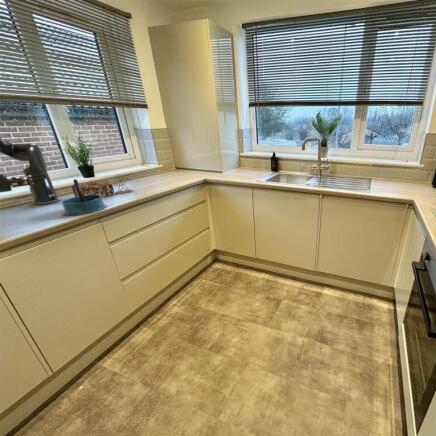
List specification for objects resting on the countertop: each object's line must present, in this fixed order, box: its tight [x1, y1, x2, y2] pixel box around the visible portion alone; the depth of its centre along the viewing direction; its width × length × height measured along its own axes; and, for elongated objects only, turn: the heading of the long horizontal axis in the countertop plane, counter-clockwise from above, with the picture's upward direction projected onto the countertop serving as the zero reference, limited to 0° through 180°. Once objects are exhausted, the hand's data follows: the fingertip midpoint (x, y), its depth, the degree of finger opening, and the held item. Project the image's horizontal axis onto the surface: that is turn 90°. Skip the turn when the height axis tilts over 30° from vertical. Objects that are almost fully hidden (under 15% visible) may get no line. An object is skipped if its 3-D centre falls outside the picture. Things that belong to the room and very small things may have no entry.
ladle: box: [73, 178, 85, 203], centre depth 124 cm, size 6×6×16 cm
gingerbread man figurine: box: [113, 174, 133, 195], centre depth 156 cm, size 9×4×12 cm, turn 134°
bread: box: [71, 179, 115, 198], centre depth 147 cm, size 19×11×10 cm, turn 139°
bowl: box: [61, 195, 106, 216], centre depth 126 cm, size 16×16×6 cm
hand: (43, 178), depth 113 cm, fingers open, 8 cm apart
